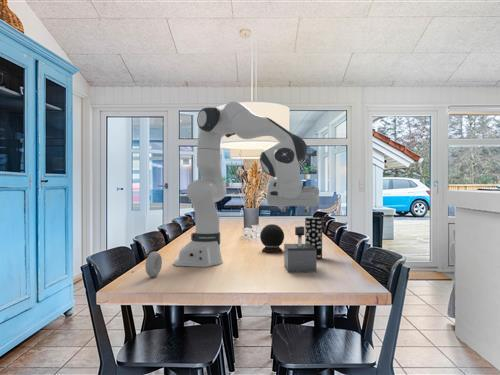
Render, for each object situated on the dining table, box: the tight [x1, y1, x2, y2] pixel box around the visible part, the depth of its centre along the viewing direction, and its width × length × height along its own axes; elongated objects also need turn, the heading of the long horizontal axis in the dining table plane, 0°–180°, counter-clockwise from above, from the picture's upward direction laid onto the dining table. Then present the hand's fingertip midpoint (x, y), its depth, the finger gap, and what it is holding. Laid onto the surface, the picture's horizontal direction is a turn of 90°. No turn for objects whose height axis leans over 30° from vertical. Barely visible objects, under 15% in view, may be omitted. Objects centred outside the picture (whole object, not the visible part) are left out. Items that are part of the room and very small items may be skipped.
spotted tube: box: [304, 216, 323, 261], centre depth 184 cm, size 8×8×20 cm
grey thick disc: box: [144, 251, 163, 278], centre depth 146 cm, size 10×4×10 cm, turn 168°
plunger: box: [294, 225, 305, 247], centre depth 160 cm, size 8×8×17 cm
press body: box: [283, 243, 318, 273], centre depth 160 cm, size 12×12×10 cm
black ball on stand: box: [259, 223, 285, 254], centre depth 203 cm, size 13×13×15 cm
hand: (295, 210), depth 148 cm, fingers open, 8 cm apart
